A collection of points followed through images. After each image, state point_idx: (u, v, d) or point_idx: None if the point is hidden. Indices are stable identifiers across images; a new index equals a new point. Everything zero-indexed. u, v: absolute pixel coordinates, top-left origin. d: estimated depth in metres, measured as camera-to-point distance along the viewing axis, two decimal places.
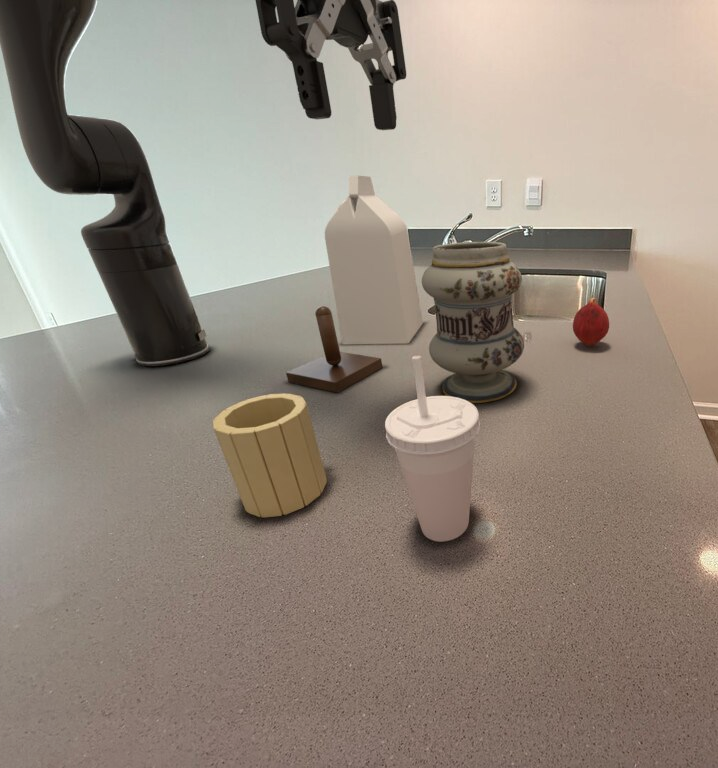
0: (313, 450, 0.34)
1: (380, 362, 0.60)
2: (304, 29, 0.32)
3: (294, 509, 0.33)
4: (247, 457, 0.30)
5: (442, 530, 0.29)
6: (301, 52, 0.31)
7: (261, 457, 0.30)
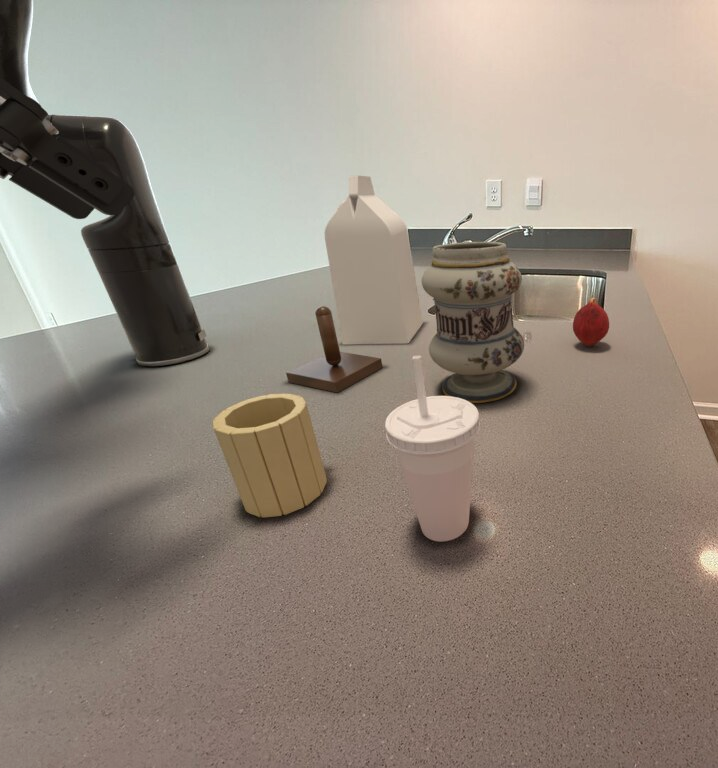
0: (313, 450, 0.34)
1: (380, 362, 0.60)
2: None
3: (294, 509, 0.33)
4: (247, 457, 0.30)
5: (442, 530, 0.29)
6: None
7: (261, 457, 0.30)
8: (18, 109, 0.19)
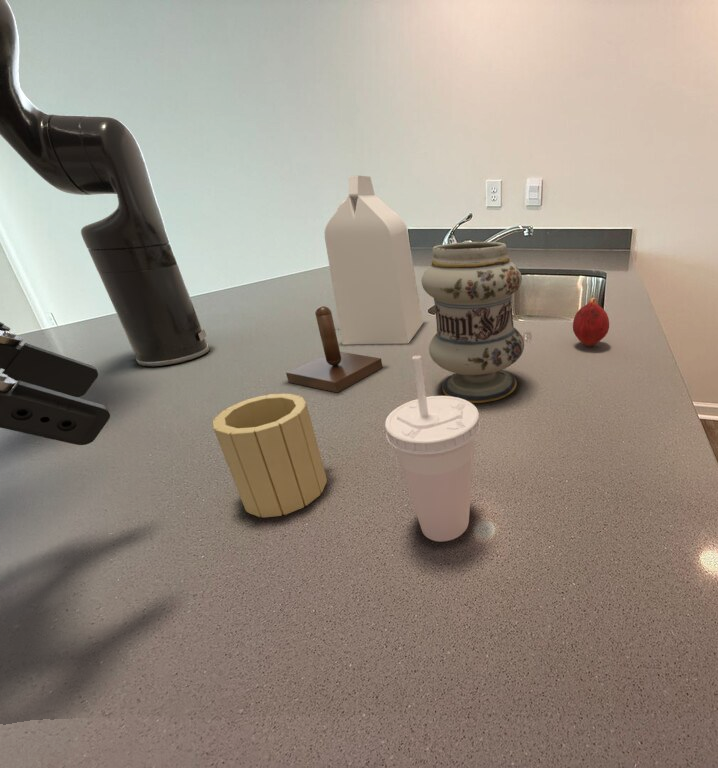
0: (313, 450, 0.34)
1: (380, 362, 0.60)
2: None
3: (294, 509, 0.33)
4: (247, 457, 0.30)
5: (442, 530, 0.29)
6: None
7: (261, 457, 0.30)
8: None
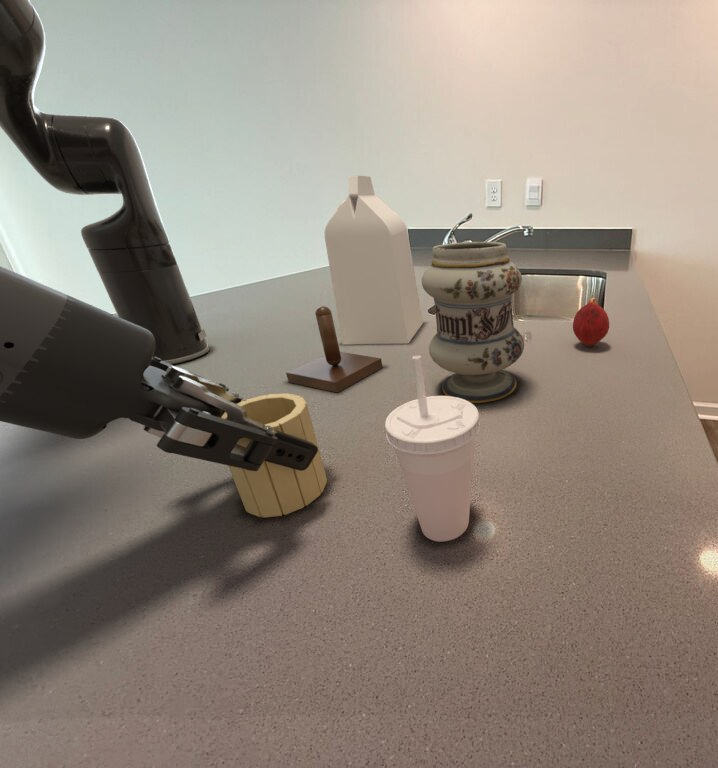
0: None
1: (380, 362, 0.60)
2: None
3: (294, 509, 0.33)
4: None
5: (442, 530, 0.29)
6: None
7: None
8: (263, 447, 0.27)
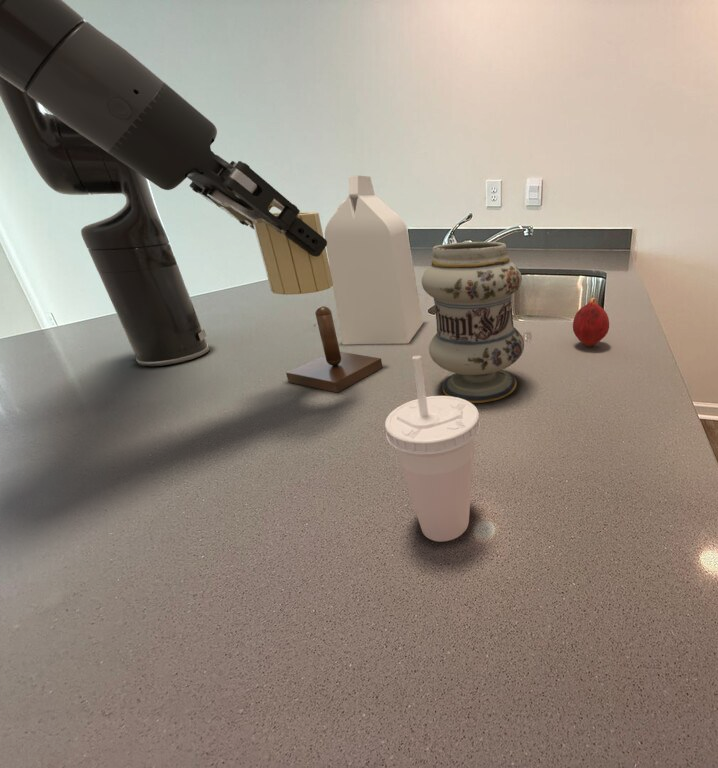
0: (323, 250, 0.46)
1: (380, 362, 0.60)
2: None
3: (309, 291, 0.45)
4: (276, 237, 0.42)
5: (442, 530, 0.29)
6: None
7: (286, 239, 0.42)
8: (290, 212, 0.38)
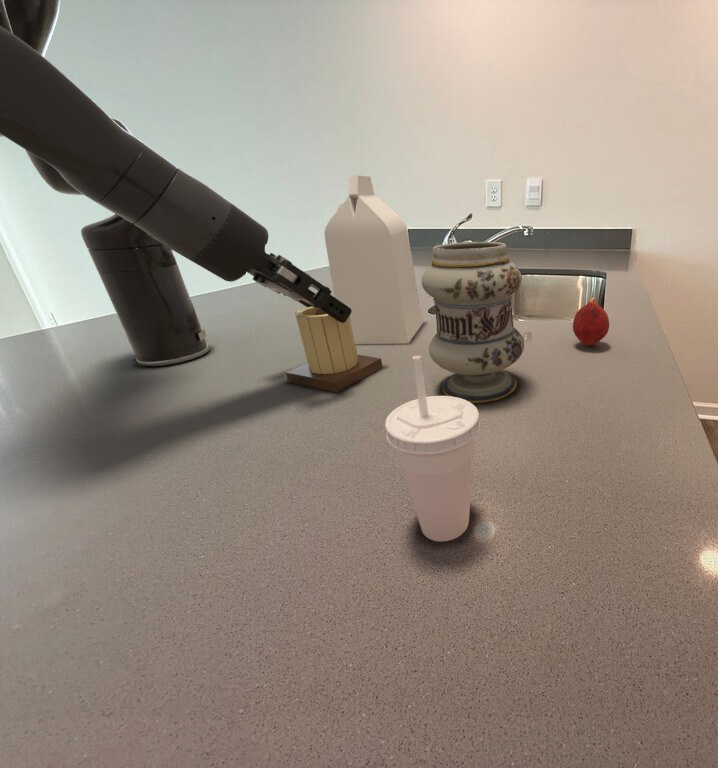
0: (351, 337, 0.56)
1: (380, 362, 0.60)
2: None
3: (340, 370, 0.55)
4: (316, 332, 0.52)
5: (442, 530, 0.29)
6: None
7: (324, 333, 0.53)
8: (324, 294, 0.47)
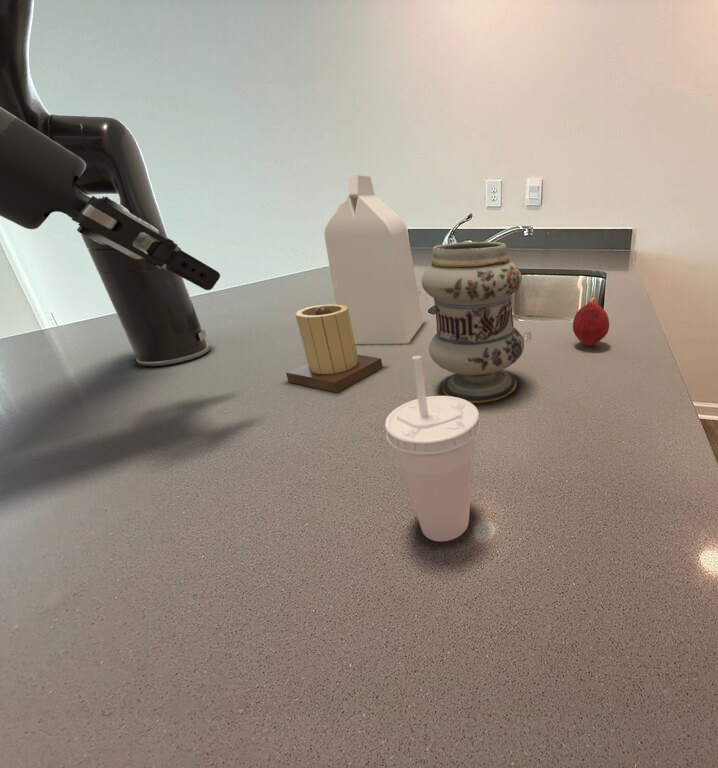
0: (351, 337, 0.56)
1: (380, 362, 0.60)
2: None
3: (340, 370, 0.55)
4: (316, 332, 0.52)
5: (442, 530, 0.29)
6: None
7: (324, 333, 0.53)
8: (163, 247, 0.36)
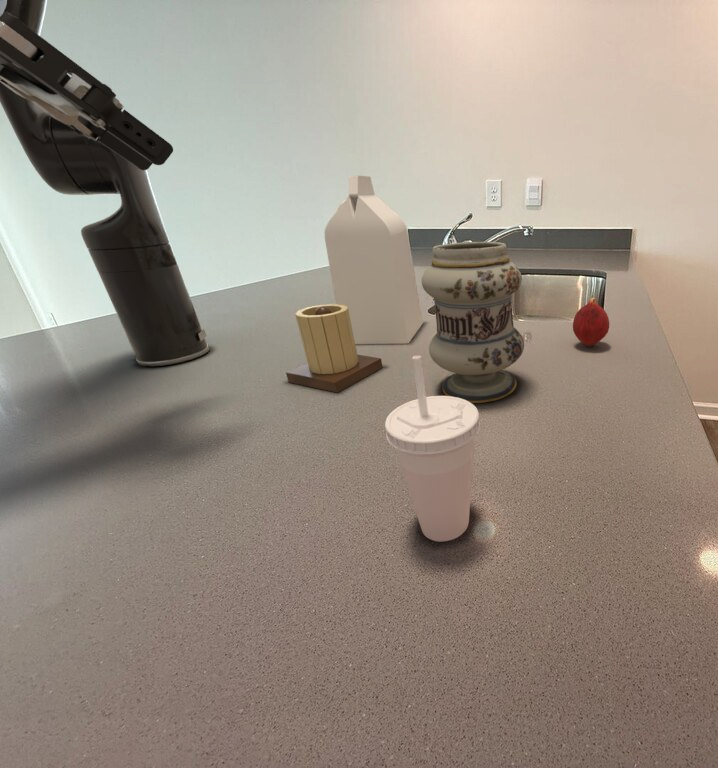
0: (351, 337, 0.56)
1: (380, 362, 0.60)
2: None
3: (340, 370, 0.55)
4: (316, 332, 0.52)
5: (442, 530, 0.29)
6: None
7: (324, 333, 0.53)
8: (98, 92, 0.30)
